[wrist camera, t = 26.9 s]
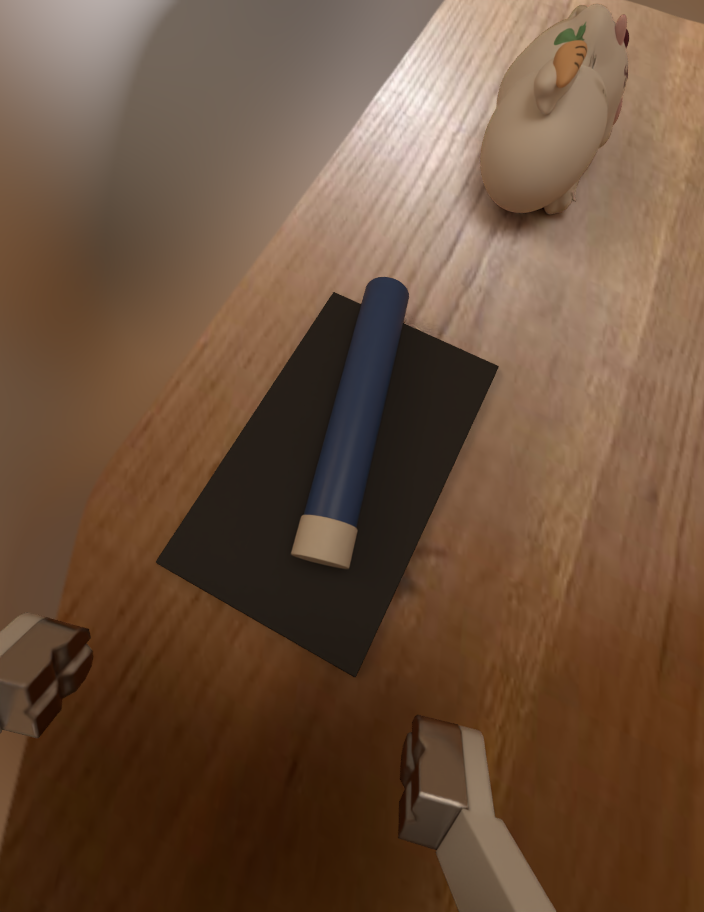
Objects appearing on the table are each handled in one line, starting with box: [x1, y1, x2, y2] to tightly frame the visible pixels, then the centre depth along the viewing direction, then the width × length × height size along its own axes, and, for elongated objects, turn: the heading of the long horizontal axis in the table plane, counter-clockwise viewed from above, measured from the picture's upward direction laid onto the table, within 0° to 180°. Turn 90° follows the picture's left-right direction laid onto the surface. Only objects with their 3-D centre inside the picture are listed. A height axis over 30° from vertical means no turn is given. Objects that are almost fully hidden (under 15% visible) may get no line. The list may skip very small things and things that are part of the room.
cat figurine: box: [480, 4, 629, 214], centre depth 29 cm, size 10×8×15 cm
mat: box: [156, 292, 499, 677], centre depth 24 cm, size 20×12×1 cm, turn 152°
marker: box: [291, 277, 409, 569], centre depth 23 cm, size 3×3×17 cm
